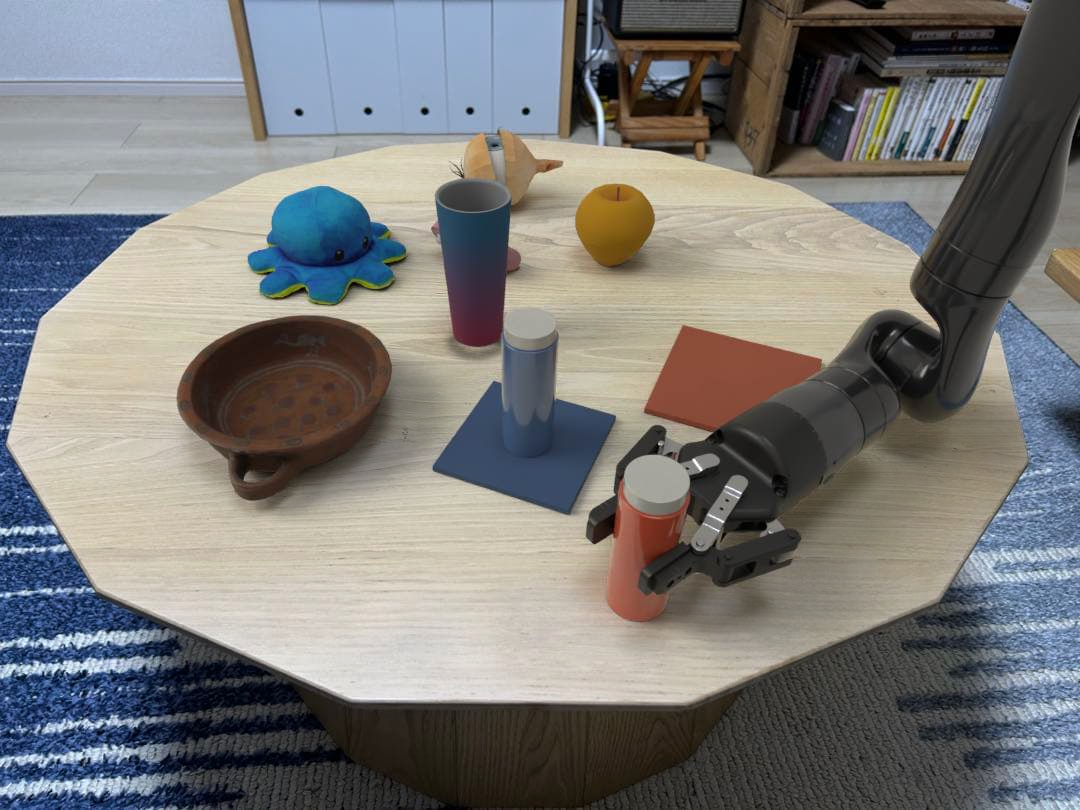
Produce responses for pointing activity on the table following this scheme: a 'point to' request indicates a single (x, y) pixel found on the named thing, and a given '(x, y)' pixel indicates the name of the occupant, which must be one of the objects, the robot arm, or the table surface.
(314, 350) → the dish
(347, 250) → the plush toy
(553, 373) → the blue shaker
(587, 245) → the apple
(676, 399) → the terracotta mat
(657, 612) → the terracotta shaker
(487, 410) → the blue mat
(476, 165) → the sculpture
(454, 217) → the cup
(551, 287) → the table surface
